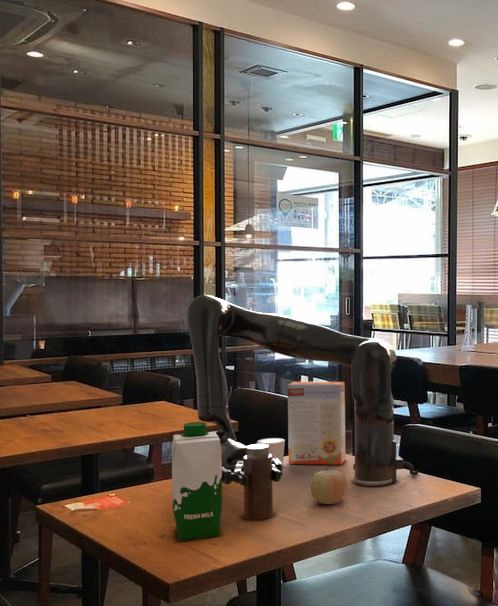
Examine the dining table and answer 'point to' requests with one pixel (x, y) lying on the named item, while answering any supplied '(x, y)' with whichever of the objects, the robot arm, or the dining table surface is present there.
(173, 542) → the dining table surface
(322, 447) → the cracker box
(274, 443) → the white cup
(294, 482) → the dining table surface
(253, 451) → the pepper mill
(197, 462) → the milk carton
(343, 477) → the fruit
